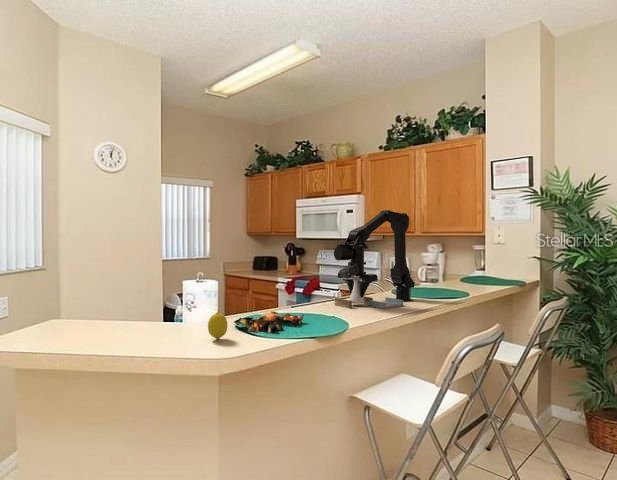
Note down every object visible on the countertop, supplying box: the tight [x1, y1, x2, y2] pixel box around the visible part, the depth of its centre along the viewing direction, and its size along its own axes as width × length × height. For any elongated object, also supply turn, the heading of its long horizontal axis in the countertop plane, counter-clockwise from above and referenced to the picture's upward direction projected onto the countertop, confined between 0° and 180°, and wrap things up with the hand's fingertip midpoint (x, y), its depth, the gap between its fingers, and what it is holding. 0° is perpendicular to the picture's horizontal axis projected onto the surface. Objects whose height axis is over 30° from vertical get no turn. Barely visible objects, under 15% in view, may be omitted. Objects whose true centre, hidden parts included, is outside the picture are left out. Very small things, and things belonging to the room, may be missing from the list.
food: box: [233, 311, 305, 334], centre depth 135 cm, size 22×19×4 cm
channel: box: [334, 295, 374, 310], centre depth 171 cm, size 14×9×3 cm, turn 128°
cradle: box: [367, 296, 404, 310], centre depth 170 cm, size 12×9×2 cm
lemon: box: [207, 311, 228, 341], centre depth 116 cm, size 6×6×8 cm
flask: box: [348, 278, 365, 305], centre depth 170 cm, size 7×7×10 cm
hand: (356, 296), depth 170 cm, fingers closed on flask, 5 cm apart
